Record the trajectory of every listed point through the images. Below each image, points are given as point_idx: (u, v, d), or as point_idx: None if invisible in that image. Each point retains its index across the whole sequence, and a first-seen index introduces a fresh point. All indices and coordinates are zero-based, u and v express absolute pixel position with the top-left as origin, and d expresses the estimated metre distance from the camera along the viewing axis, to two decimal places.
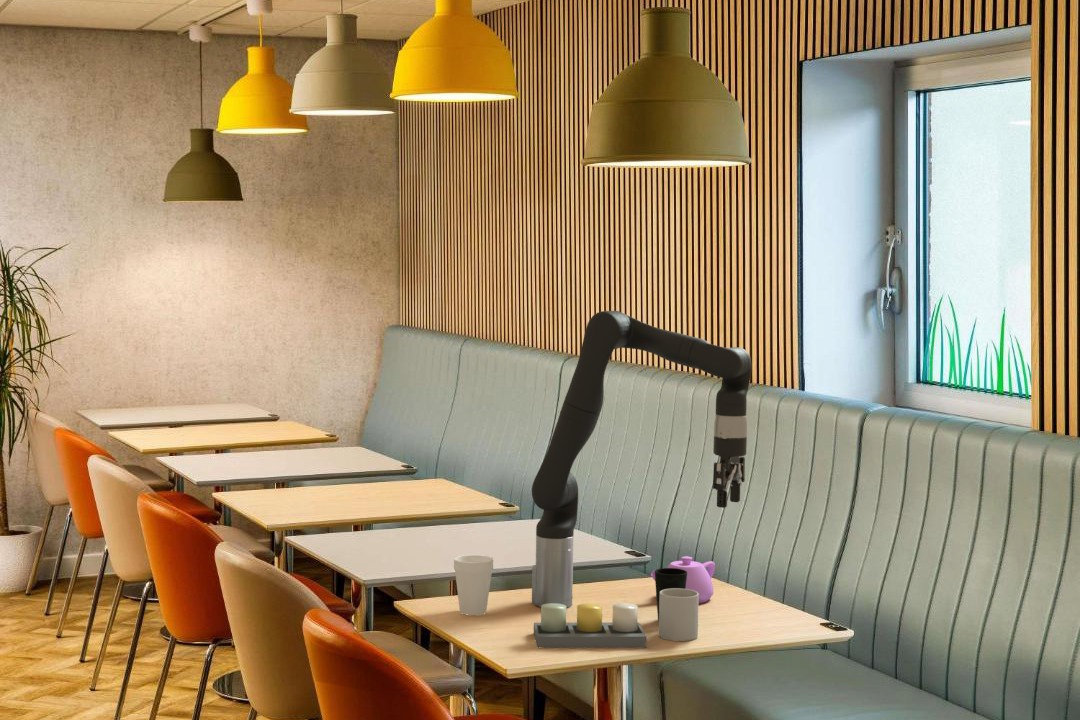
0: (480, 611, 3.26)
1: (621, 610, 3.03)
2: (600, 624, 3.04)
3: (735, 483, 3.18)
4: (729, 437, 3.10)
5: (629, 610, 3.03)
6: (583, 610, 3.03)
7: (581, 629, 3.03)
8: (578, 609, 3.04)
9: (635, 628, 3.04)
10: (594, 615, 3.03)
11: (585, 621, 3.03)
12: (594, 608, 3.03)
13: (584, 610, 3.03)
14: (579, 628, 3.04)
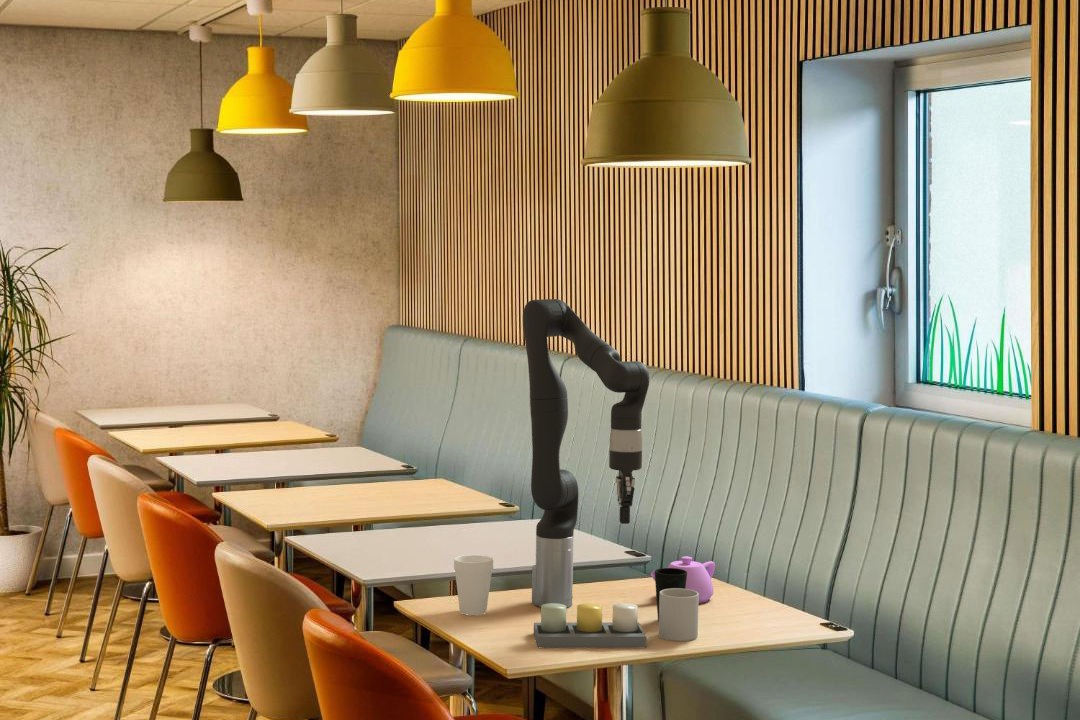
0: (480, 611, 3.26)
1: (621, 610, 3.03)
2: (600, 624, 3.04)
3: None
4: None
5: (629, 610, 3.03)
6: (583, 610, 3.03)
7: (581, 629, 3.03)
8: (578, 609, 3.04)
9: (635, 628, 3.04)
10: (594, 615, 3.03)
11: (585, 621, 3.03)
12: (594, 608, 3.03)
13: (584, 610, 3.03)
14: (579, 628, 3.04)
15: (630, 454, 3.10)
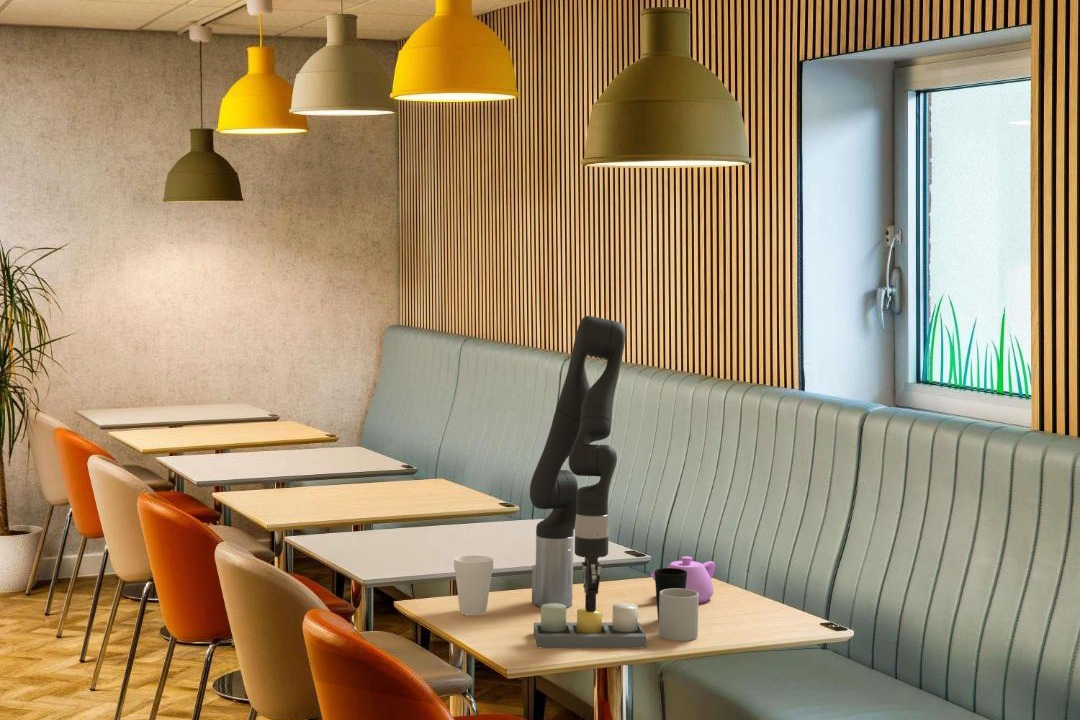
0: (480, 611, 3.26)
1: (621, 610, 3.03)
2: (600, 628, 3.04)
3: None
4: None
5: (629, 610, 3.03)
6: (583, 614, 3.03)
7: (581, 633, 3.03)
8: (578, 613, 3.04)
9: (635, 628, 3.04)
10: (594, 619, 3.03)
11: (585, 625, 3.03)
12: (594, 612, 3.03)
13: (584, 614, 3.03)
14: (579, 632, 3.04)
15: (596, 541, 3.00)
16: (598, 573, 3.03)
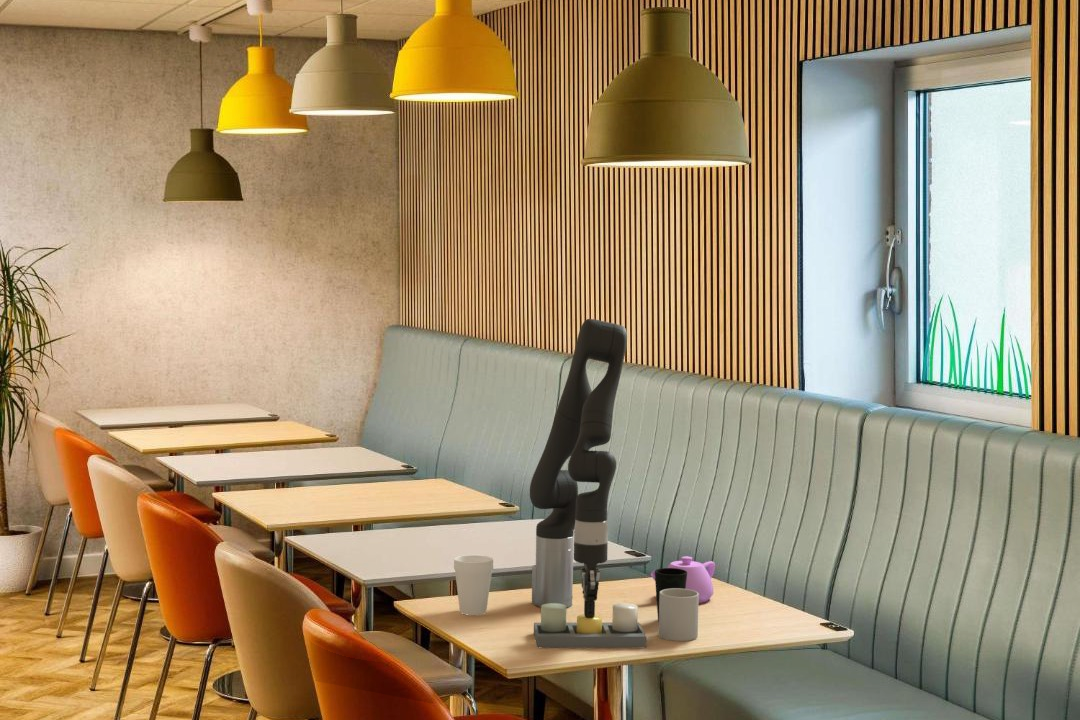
0: (480, 611, 3.26)
1: (621, 610, 3.03)
2: None
3: None
4: None
5: (629, 610, 3.03)
6: (583, 621, 3.03)
7: None
8: (578, 620, 3.04)
9: (635, 628, 3.04)
10: (594, 625, 3.03)
11: (585, 632, 3.03)
12: (594, 619, 3.03)
13: (584, 621, 3.03)
14: None
15: (595, 547, 3.00)
16: (597, 579, 3.03)
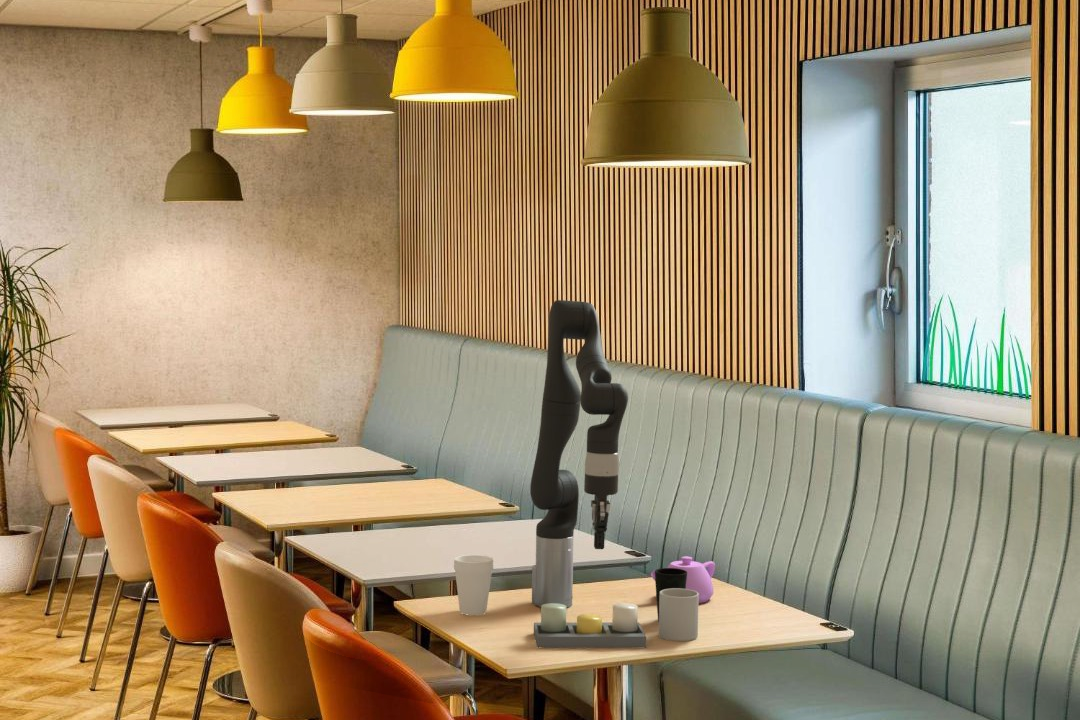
0: (480, 611, 3.26)
1: (621, 610, 3.03)
2: None
3: None
4: None
5: (629, 610, 3.03)
6: (583, 621, 3.03)
7: None
8: (578, 620, 3.04)
9: (635, 628, 3.04)
10: (594, 625, 3.03)
11: (585, 632, 3.03)
12: (594, 619, 3.03)
13: (584, 621, 3.03)
14: None
15: (605, 478, 3.02)
16: (607, 511, 3.05)
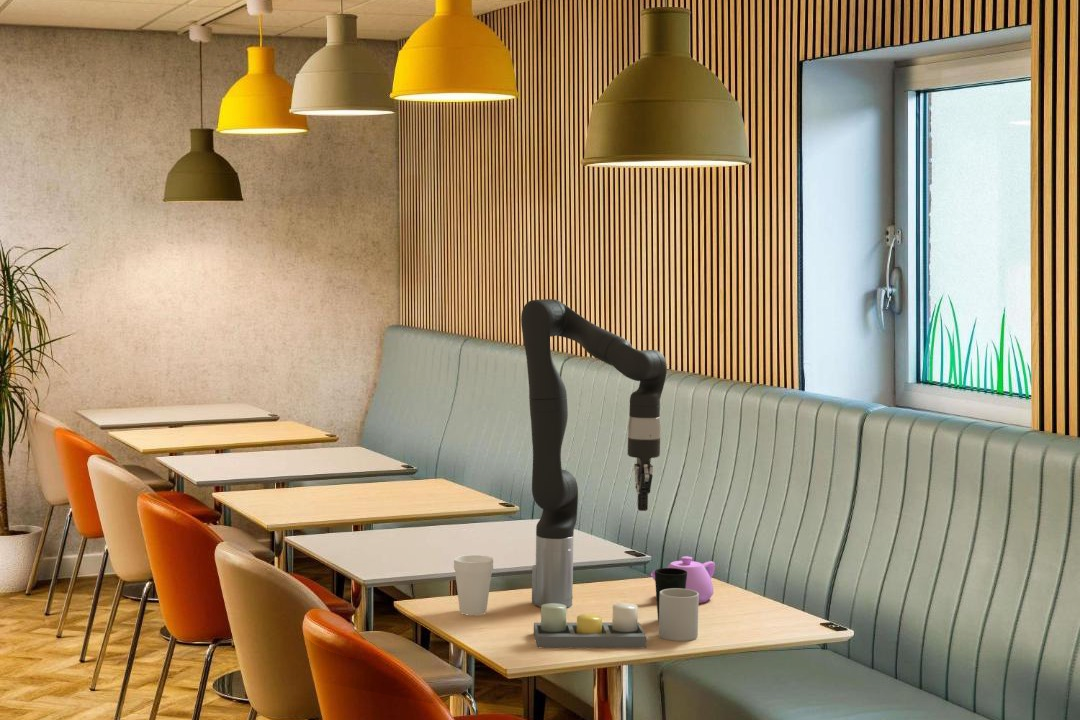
0: (480, 611, 3.26)
1: (621, 610, 3.03)
2: None
3: None
4: None
5: (629, 610, 3.03)
6: (583, 621, 3.03)
7: None
8: (578, 620, 3.04)
9: (635, 628, 3.04)
10: (594, 625, 3.03)
11: (585, 632, 3.03)
12: (594, 619, 3.03)
13: (584, 621, 3.03)
14: None
15: (648, 442, 3.14)
16: (650, 473, 3.16)
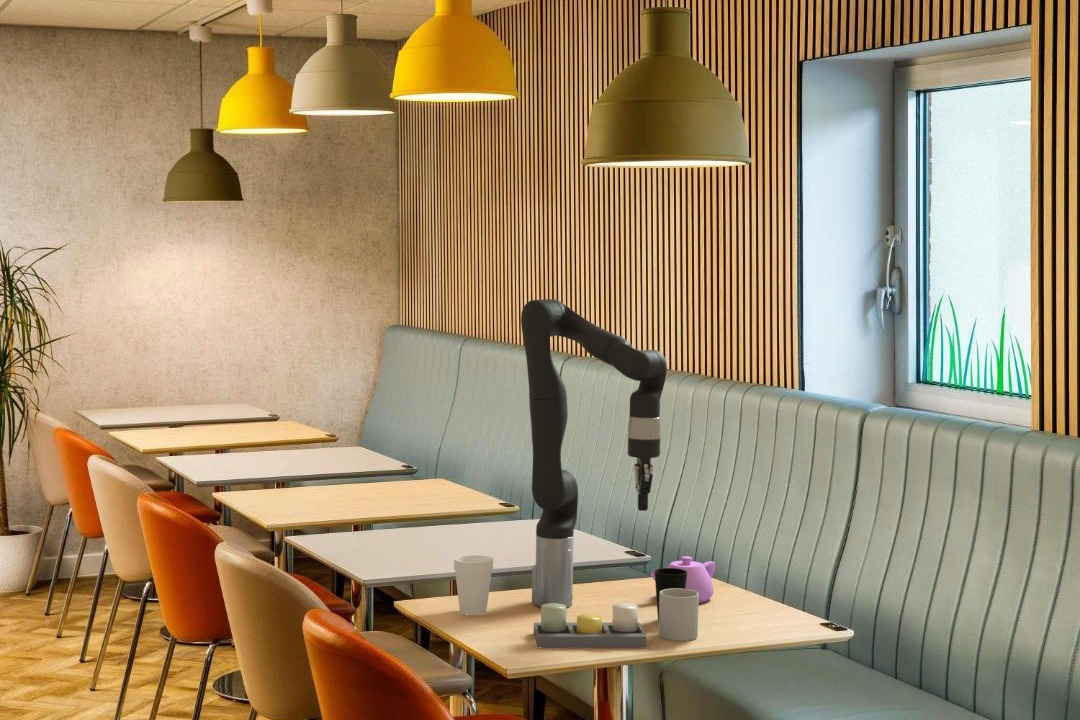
0: (480, 611, 3.26)
1: (621, 610, 3.03)
2: None
3: None
4: None
5: (629, 610, 3.03)
6: (583, 621, 3.03)
7: None
8: (578, 620, 3.04)
9: (635, 628, 3.04)
10: (594, 625, 3.03)
11: (585, 632, 3.03)
12: (594, 619, 3.03)
13: (584, 621, 3.03)
14: None
15: (648, 441, 3.14)
16: (650, 473, 3.16)
